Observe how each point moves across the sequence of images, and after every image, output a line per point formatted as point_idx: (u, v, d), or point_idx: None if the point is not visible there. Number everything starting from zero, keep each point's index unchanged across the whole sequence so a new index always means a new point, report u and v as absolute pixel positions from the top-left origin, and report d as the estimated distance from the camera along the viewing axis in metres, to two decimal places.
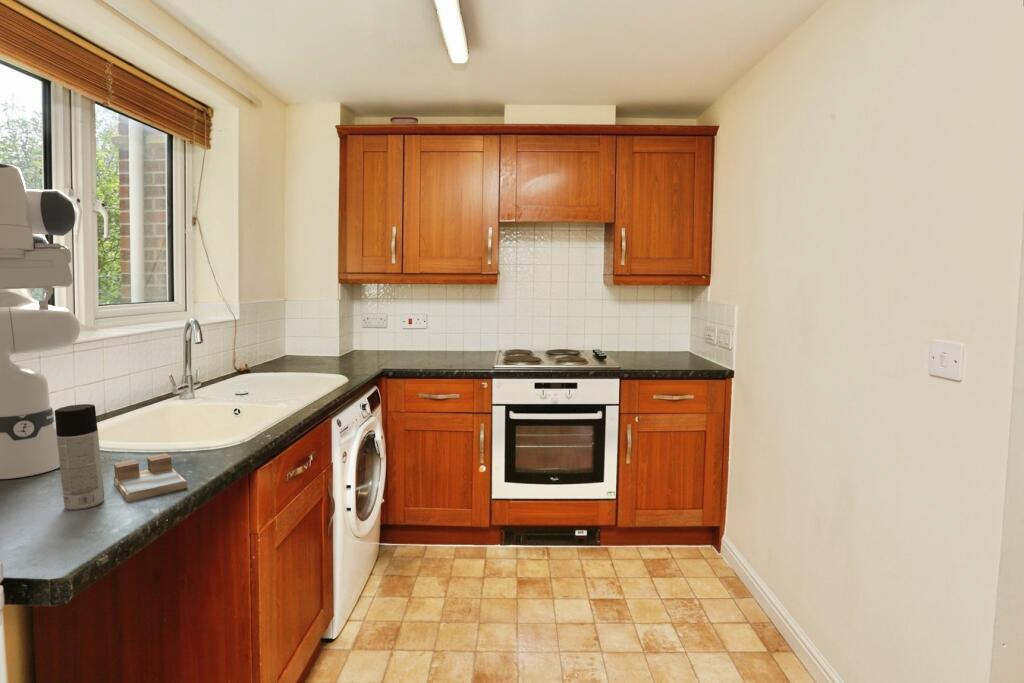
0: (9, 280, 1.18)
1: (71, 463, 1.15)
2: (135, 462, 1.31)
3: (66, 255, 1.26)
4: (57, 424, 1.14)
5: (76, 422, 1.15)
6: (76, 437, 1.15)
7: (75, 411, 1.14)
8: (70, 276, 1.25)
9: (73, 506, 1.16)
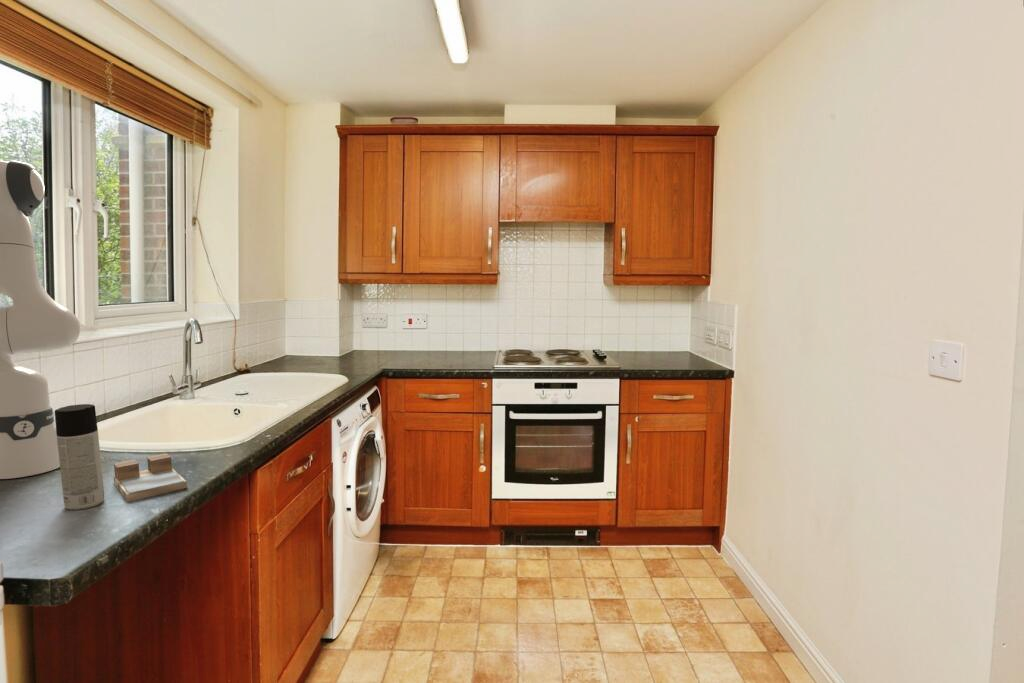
0: None
1: (71, 463, 1.15)
2: (135, 462, 1.31)
3: None
4: (57, 424, 1.14)
5: (76, 422, 1.15)
6: (76, 437, 1.15)
7: (75, 411, 1.14)
8: None
9: (73, 506, 1.16)
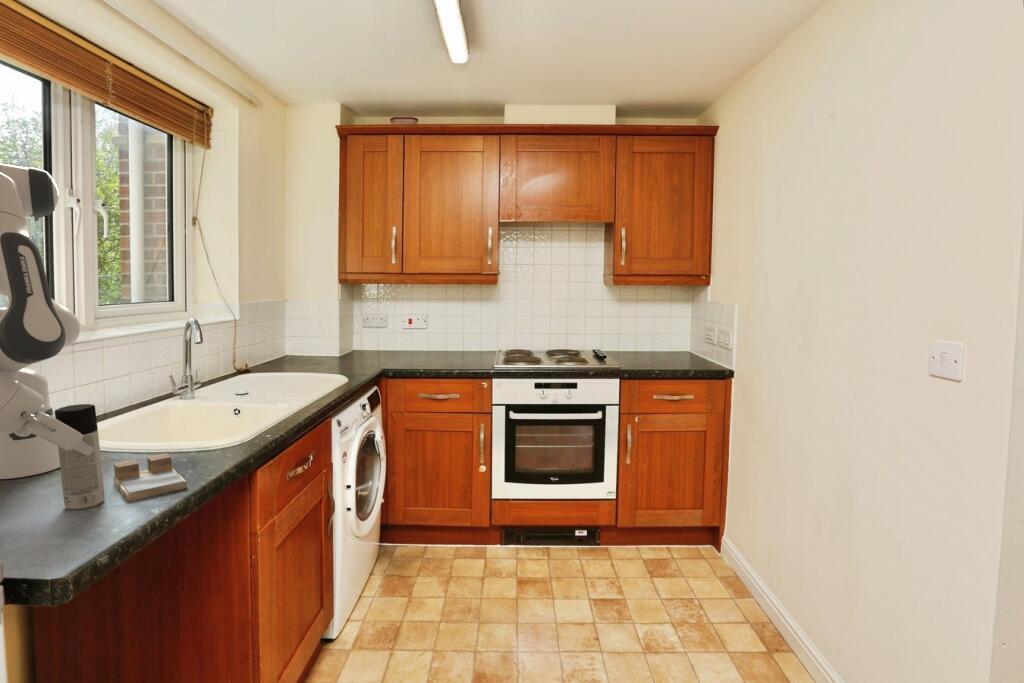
0: (46, 440, 1.14)
1: (71, 463, 1.15)
2: (135, 462, 1.31)
3: (42, 427, 1.05)
4: None
5: (76, 422, 1.15)
6: None
7: (75, 411, 1.14)
8: (61, 446, 1.07)
9: (73, 506, 1.16)
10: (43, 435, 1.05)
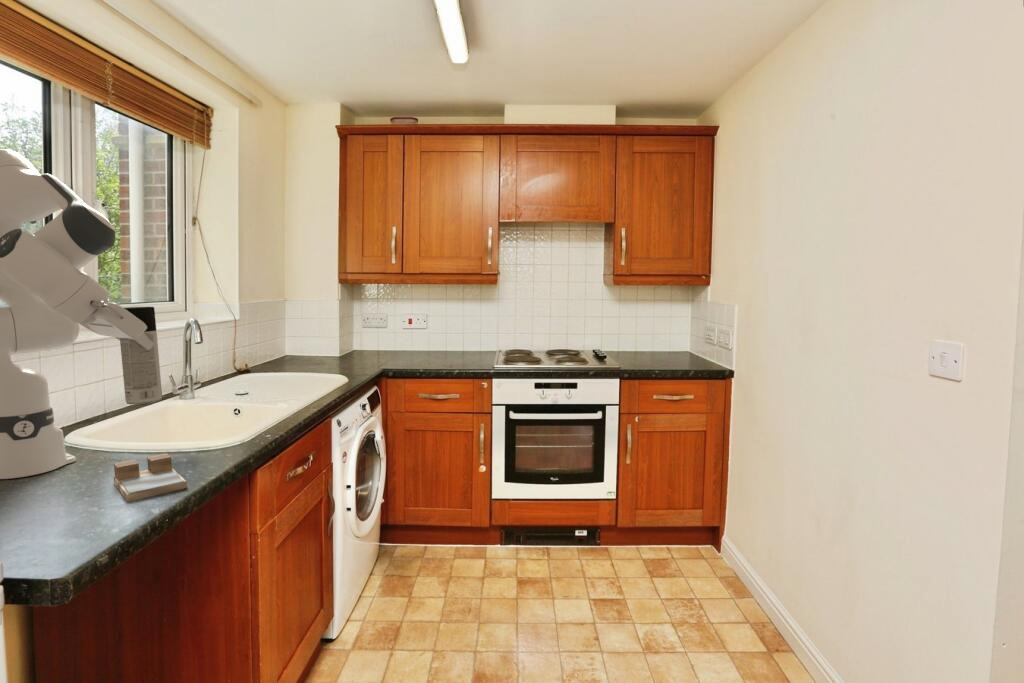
0: (110, 333, 1.20)
1: (133, 358, 1.21)
2: (135, 462, 1.31)
3: (111, 313, 1.11)
4: None
5: None
6: None
7: (137, 308, 1.21)
8: (128, 334, 1.14)
9: (134, 400, 1.22)
10: (112, 321, 1.12)
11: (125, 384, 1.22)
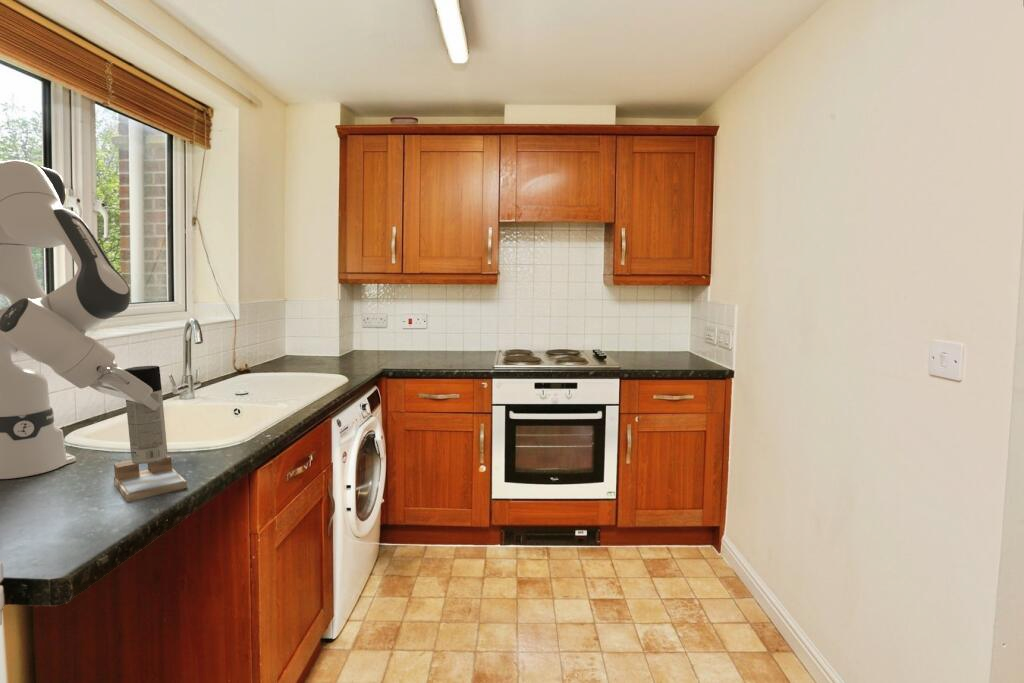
0: (116, 395, 1.21)
1: (139, 419, 1.22)
2: None
3: (118, 379, 1.13)
4: None
5: (144, 380, 1.22)
6: None
7: (143, 370, 1.22)
8: (134, 398, 1.15)
9: (140, 460, 1.23)
10: (118, 387, 1.13)
11: (131, 444, 1.23)
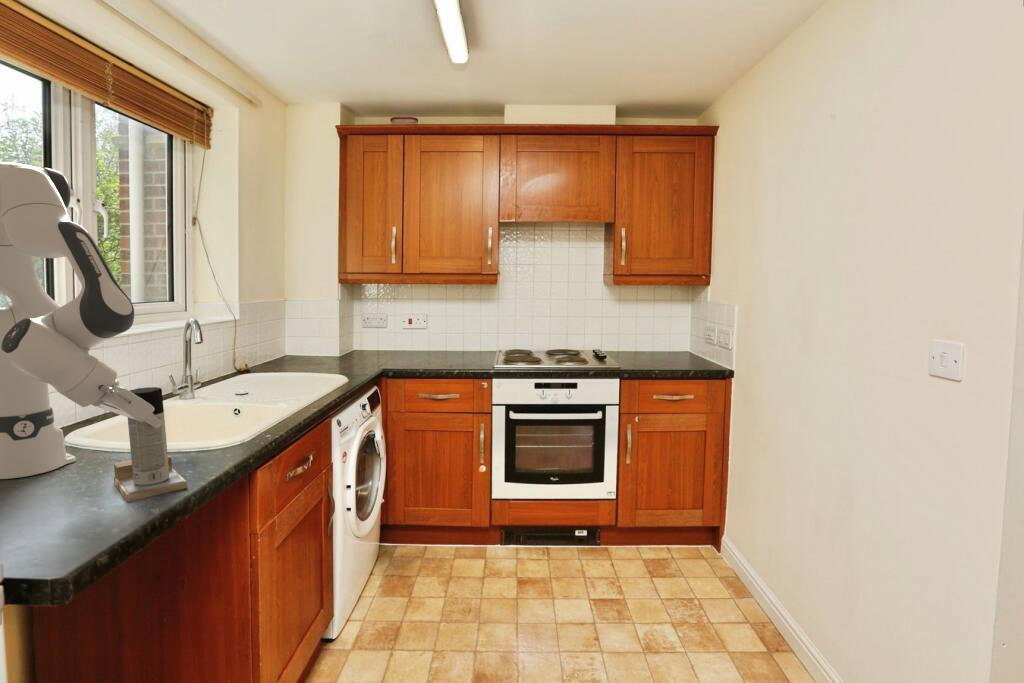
0: (118, 413, 1.22)
1: (141, 441, 1.23)
2: None
3: (120, 398, 1.13)
4: None
5: None
6: None
7: (145, 393, 1.22)
8: (136, 417, 1.15)
9: (142, 482, 1.24)
10: (120, 406, 1.13)
11: (133, 466, 1.24)
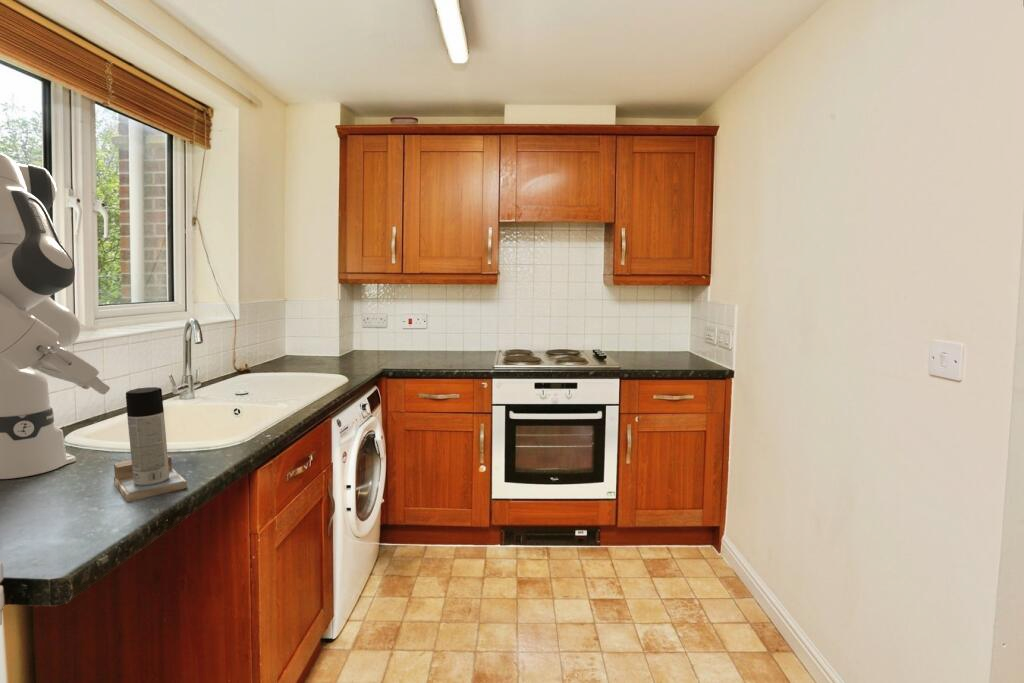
0: (61, 378, 1.14)
1: (141, 441, 1.23)
2: None
3: (59, 359, 1.05)
4: (128, 405, 1.22)
5: (146, 403, 1.23)
6: (146, 418, 1.23)
7: (145, 393, 1.22)
8: (77, 380, 1.07)
9: (142, 482, 1.24)
10: (59, 368, 1.05)
11: (133, 466, 1.24)
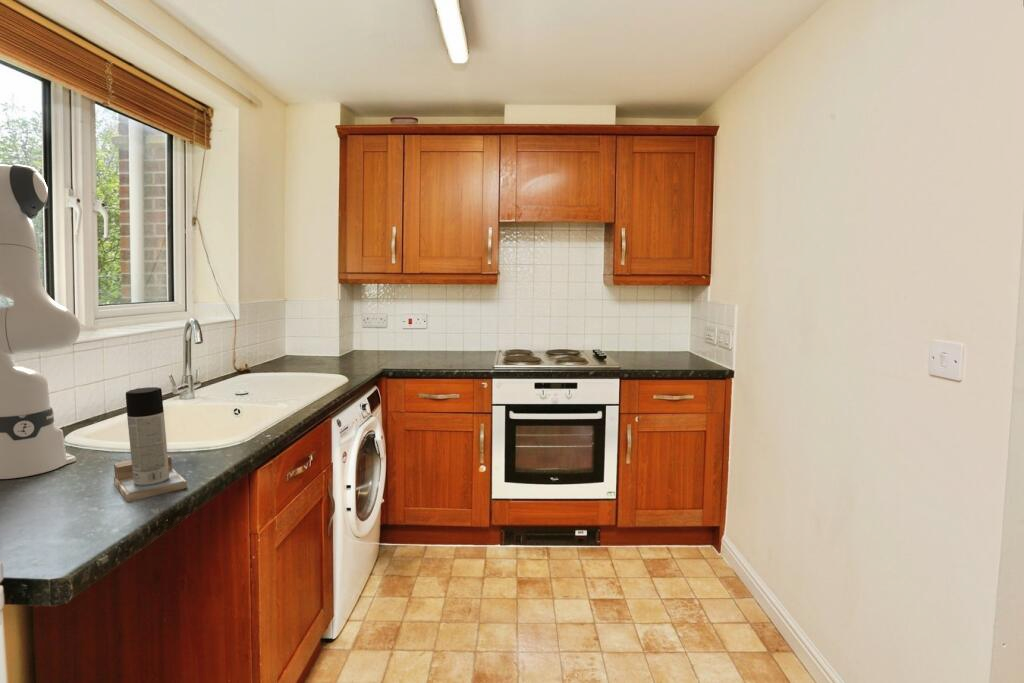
0: None
1: (141, 441, 1.23)
2: None
3: None
4: (128, 405, 1.22)
5: (146, 403, 1.23)
6: (146, 418, 1.23)
7: (145, 393, 1.22)
8: None
9: (142, 482, 1.24)
10: None
11: (133, 466, 1.24)
